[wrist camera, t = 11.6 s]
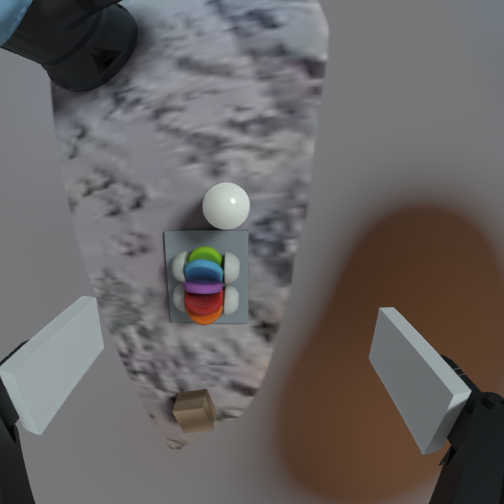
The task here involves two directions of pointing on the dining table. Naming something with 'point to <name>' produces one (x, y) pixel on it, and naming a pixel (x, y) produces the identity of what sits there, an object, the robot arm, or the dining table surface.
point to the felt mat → (223, 243)
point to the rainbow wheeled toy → (205, 284)
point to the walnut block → (194, 411)
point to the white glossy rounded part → (226, 206)
